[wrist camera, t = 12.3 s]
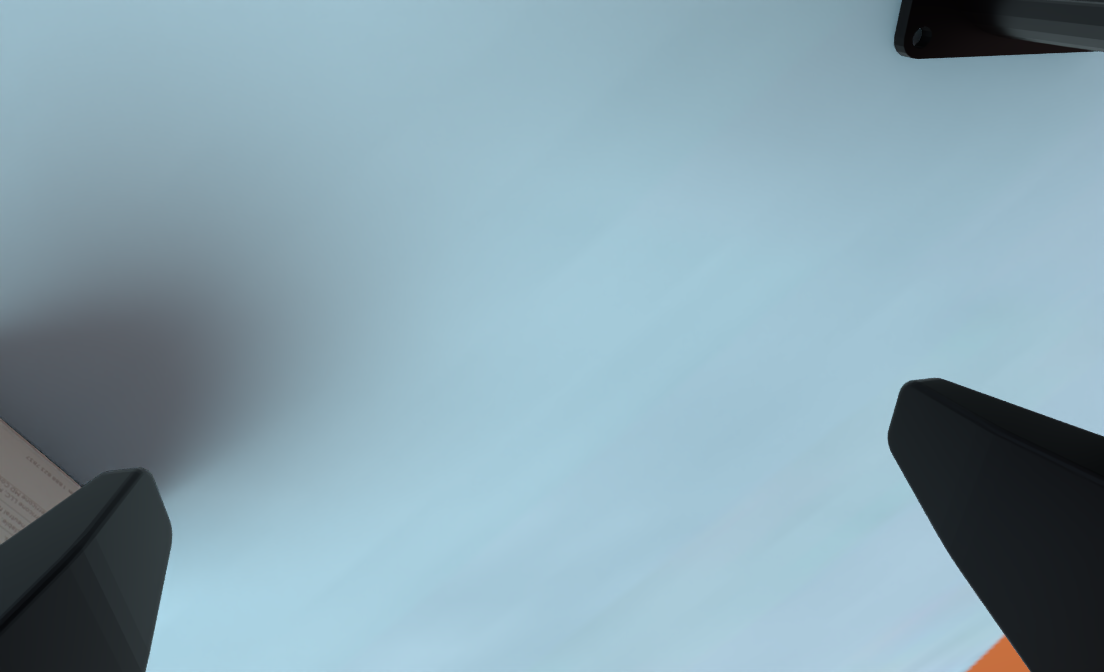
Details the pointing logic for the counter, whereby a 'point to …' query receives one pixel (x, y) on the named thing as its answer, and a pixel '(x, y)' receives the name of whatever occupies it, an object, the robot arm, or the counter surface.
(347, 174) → the counter surface
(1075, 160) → the counter surface
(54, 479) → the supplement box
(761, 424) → the counter surface
